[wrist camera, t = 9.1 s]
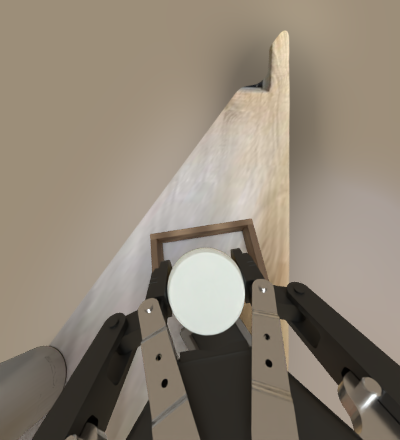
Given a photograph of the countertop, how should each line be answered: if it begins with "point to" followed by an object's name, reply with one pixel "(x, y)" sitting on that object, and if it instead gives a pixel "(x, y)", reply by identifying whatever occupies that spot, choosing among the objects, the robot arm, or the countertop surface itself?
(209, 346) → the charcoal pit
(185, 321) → the supplement bottle
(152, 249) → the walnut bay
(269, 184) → the countertop surface
